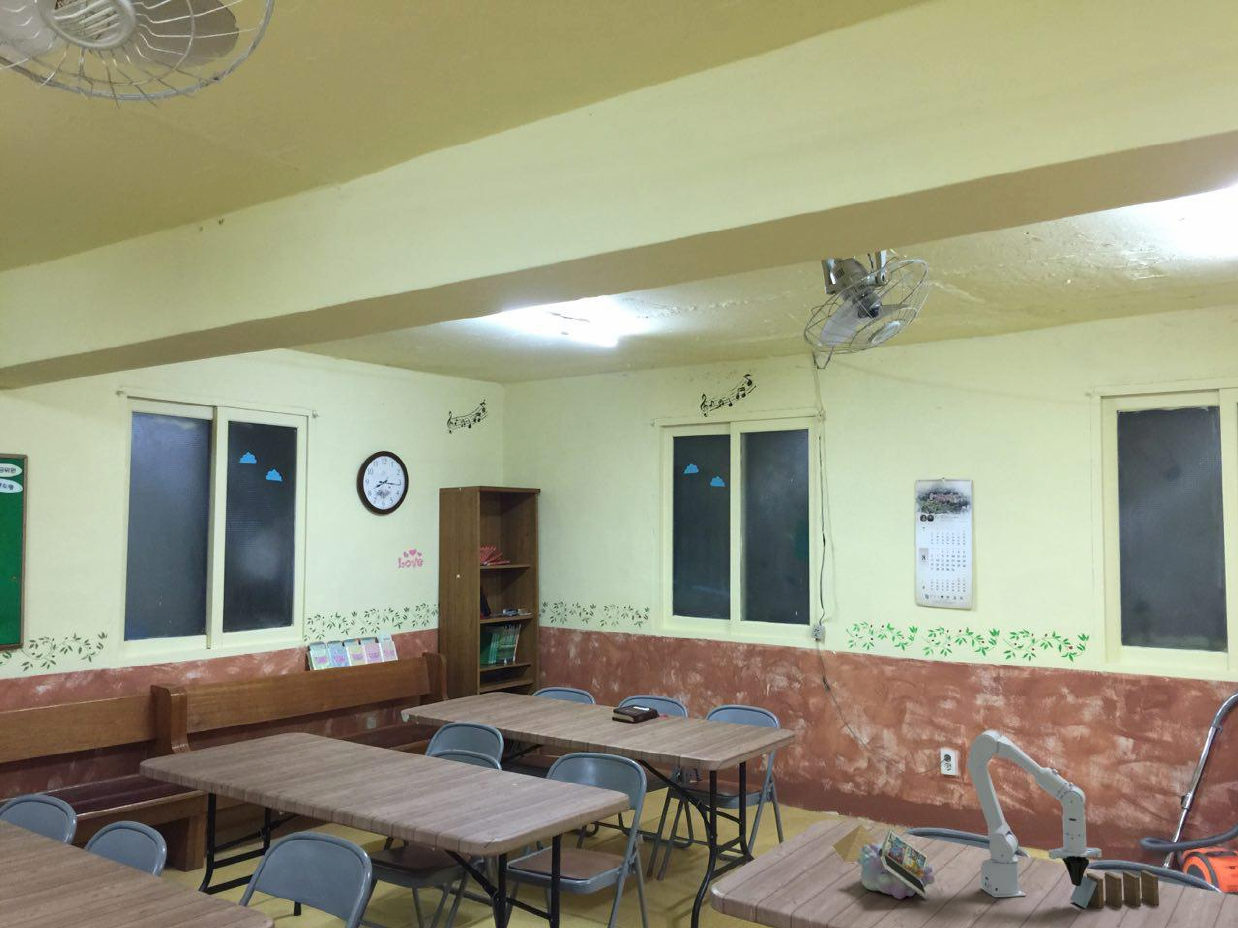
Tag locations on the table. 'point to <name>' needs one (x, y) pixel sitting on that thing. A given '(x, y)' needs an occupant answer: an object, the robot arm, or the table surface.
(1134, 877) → the domino
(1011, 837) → the robot arm
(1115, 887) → the domino
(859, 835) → the model pyramid
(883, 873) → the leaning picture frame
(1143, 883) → the domino
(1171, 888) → the table surface
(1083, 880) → the domino
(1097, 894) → the domino
